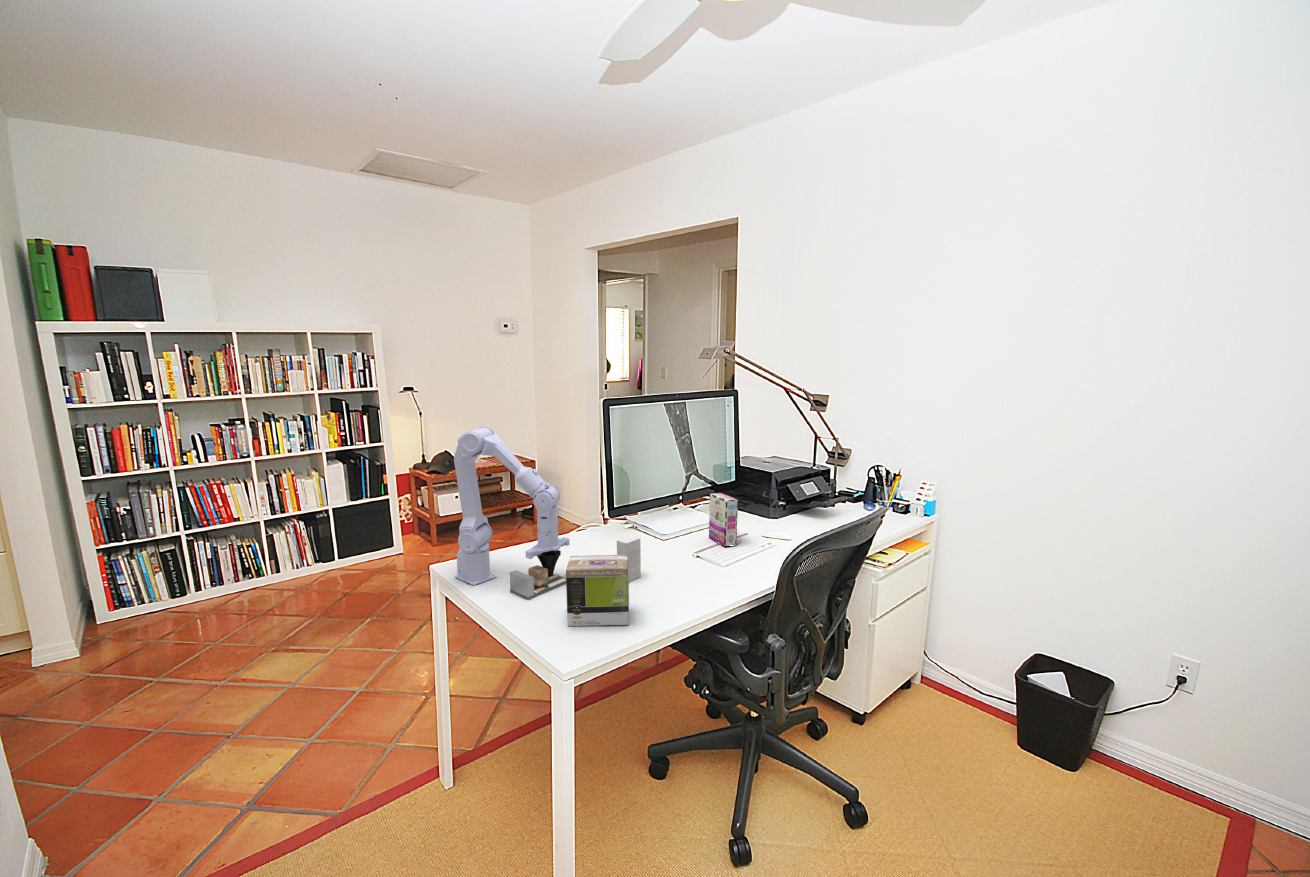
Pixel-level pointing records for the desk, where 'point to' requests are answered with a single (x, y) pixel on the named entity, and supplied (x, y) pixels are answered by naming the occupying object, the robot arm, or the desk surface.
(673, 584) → the desk surface
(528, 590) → the gauge bed
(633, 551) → the skincare box
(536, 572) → the gauge slider
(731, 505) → the candy bar box
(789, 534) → the desk surface
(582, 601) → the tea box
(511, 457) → the robot arm
